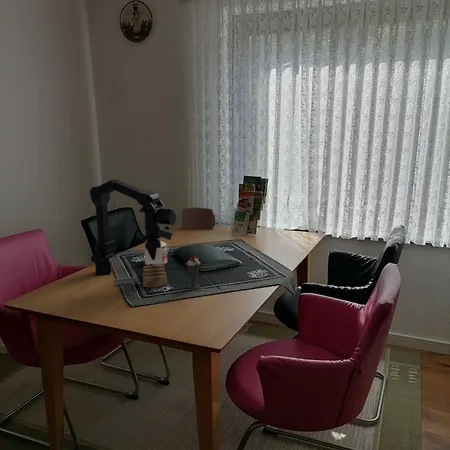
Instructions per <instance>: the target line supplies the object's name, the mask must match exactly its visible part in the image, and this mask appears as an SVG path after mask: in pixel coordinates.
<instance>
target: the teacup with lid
mask: <svg viewBox="0 0 450 450" xmlns="http://www.w3.org/2000/svg"><path fill="white" fill-rule="evenodd" d="M160 242H161V249H162V264H152V265H151V266H156V265H165V264H167V263H168V253H169V246H168V244H167V243H166V242H164V241H161V240H160Z"/></svg>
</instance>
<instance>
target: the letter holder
mask: <svg viewBox="0 0 450 450" xmlns="http://www.w3.org/2000/svg"><path fill="white" fill-rule="evenodd" d="M181 222H182V223H181V228H182V230H193V231H194V230H198V231H199V230H201V231H203V230H204V231H209V230H210V231H213V230H214V229H215V227H216V216H215V214H214V211H213V209H212V208H206V207H187V208H186V207H185V208H183V209H181Z"/></svg>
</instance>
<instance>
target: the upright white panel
mask: <svg viewBox="0 0 450 450" xmlns="http://www.w3.org/2000/svg"><path fill="white" fill-rule="evenodd" d="M144 263H145V265H146V266H149V265H151V264H162V249H161V248H157V250H156V256H155V260H152V258H151V256H150V254H149V252H148V250H147V249H146V248H145V247H144ZM145 265H144V266H145Z"/></svg>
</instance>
